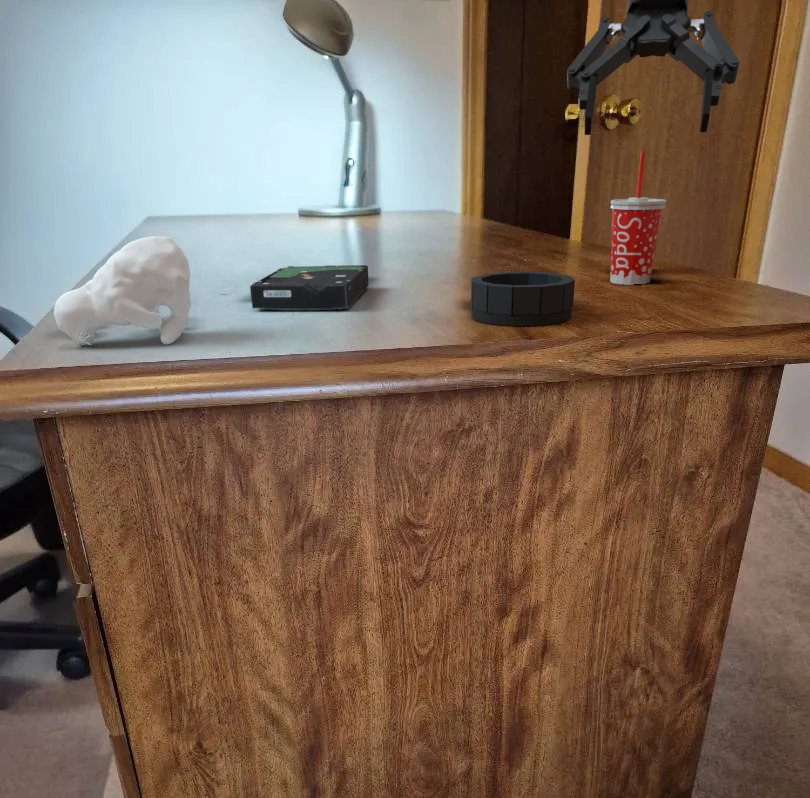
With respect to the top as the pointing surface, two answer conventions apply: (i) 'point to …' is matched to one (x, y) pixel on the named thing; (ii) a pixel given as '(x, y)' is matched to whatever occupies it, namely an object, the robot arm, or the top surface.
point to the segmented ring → (522, 298)
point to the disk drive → (310, 288)
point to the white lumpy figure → (131, 292)
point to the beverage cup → (634, 235)
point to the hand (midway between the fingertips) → (645, 125)
